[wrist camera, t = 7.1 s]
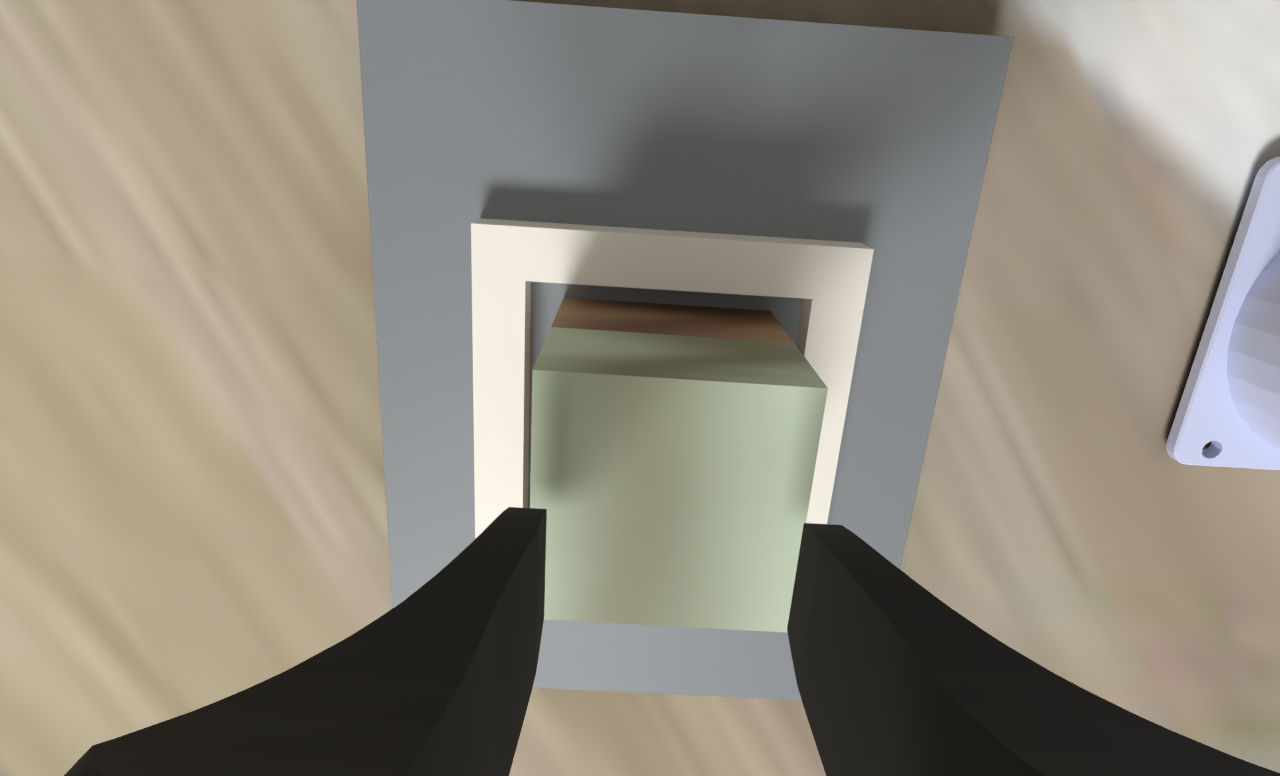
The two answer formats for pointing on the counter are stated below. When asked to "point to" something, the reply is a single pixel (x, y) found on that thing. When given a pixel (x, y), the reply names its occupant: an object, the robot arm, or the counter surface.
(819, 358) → the pocket board
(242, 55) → the counter surface
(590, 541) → the block stack
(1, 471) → the counter surface
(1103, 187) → the counter surface
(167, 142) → the counter surface
